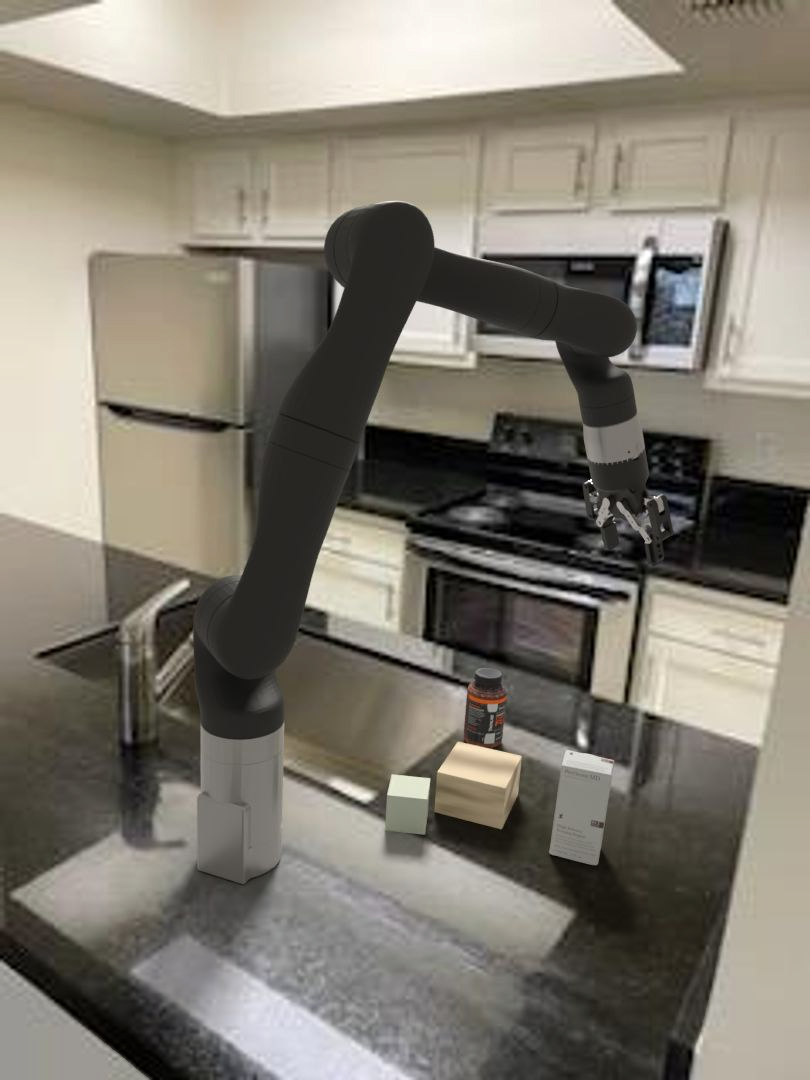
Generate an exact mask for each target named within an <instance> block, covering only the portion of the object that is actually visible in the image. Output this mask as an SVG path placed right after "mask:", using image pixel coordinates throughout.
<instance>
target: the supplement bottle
mask: <svg viewBox="0 0 810 1080" xmlns="http://www.w3.org/2000/svg"><path fill="white" fill-rule="evenodd" d="M502 676H503V674H502V672H501V671H500V670H498V669H495V668H491V667H481V668H478V669H476V671H474V681H472V682H470V683H469V684H468V687H467V690H466V703H465V713H464V714H465V715H464V725H463V739H464V741H465V742H466V743H467V744H471V745H476V746H480V747H485V748H489V749H495V748H496V747H499V746H500V745H501V743H502V742H503V737H504V725H505V715H506V714H505V713H506V705H507V704H506V702H507V694H508V693H507V690H506V687H505V686H504V685H503V684H502V682H503V680H502Z"/></svg>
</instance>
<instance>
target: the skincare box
mask: <svg viewBox="0 0 810 1080" xmlns="http://www.w3.org/2000/svg"><path fill="white" fill-rule="evenodd" d="M614 767H615V760H614V759H609V758H605V757H601V756H597V755H595V754H590V753H584V752H577V751H575V750H574V751H573V750H569V749H566V750H564V755H563V760H562V763H561V765H560V772H559V781H558V785H557V786H558V787H557V794H556V800H555V807H554V809H555V810H554V816H553V823H552V828H551V829H552V832H551V837H550V845H549V850H548V854H549V855H552V856H557V857H558V858H563V859H566V860H571V861H574V862H578V863H583V864H586V865H591V866H597V865H599V861H600V860H599V859H600V854H601V848H602V842H603V837H604V830H605V824H606V819H607V818H606V817H607V811H608V804H609V797H610V792H611V787H612V786H611V785H612V781H613V772H614Z"/></svg>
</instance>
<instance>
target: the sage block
mask: <svg viewBox="0 0 810 1080" xmlns="http://www.w3.org/2000/svg"><path fill="white" fill-rule="evenodd" d="M430 791H431V778H430V777H419V776H410V775H403V774H402V775H400V774H393V773H391V776H390V781H389V785H388V789H387V794H386V808H385V811H386V812H385V828H384V830H385V832H397V833H405V834H415V835H416V834H417V835H426V831H427V830H426V829H427V823H428V822H427V821H428V817H429V816H428V815H429V804H430V803H429V802H430V801H429V800H430Z"/></svg>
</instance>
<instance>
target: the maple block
mask: <svg viewBox="0 0 810 1080" xmlns="http://www.w3.org/2000/svg"><path fill="white" fill-rule="evenodd" d="M522 757H523V756H522V755H520V754H519V755H518V754H515V753H512V752H506V751H502V750H497V749H494V748H491V749H489V748H485V747H480V746H476V745H471V744H468V743H467V742H466V743H465V742H462V741H457V742H456V743H455V745H454V747H453V748H452V750H451V751H450V753H449V754H448V755H447V757H446V758H445V760H444V761H443V763H442V764H441V766H440V768H439V769H438V770H437V771H436V785H435V797H434V798H435V800H434V813H438V814H440V815H445V816H448V817H453V818H455V819H461V820H463V821H468V822H472V823H476V824H480V825H483V826H488V827H491V828H495V829H499V830H502V829H503V828H504V825H505V823H506V821H507V819H508V817H509V815H510V813H511V811H512V808H513V806H514V804H515V803H516V800H517V798H518V796H519V789H520V788H519V787H520V779H521V778H520V777H521V770H522V769H521V767H522V760H523V759H522Z"/></svg>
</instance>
